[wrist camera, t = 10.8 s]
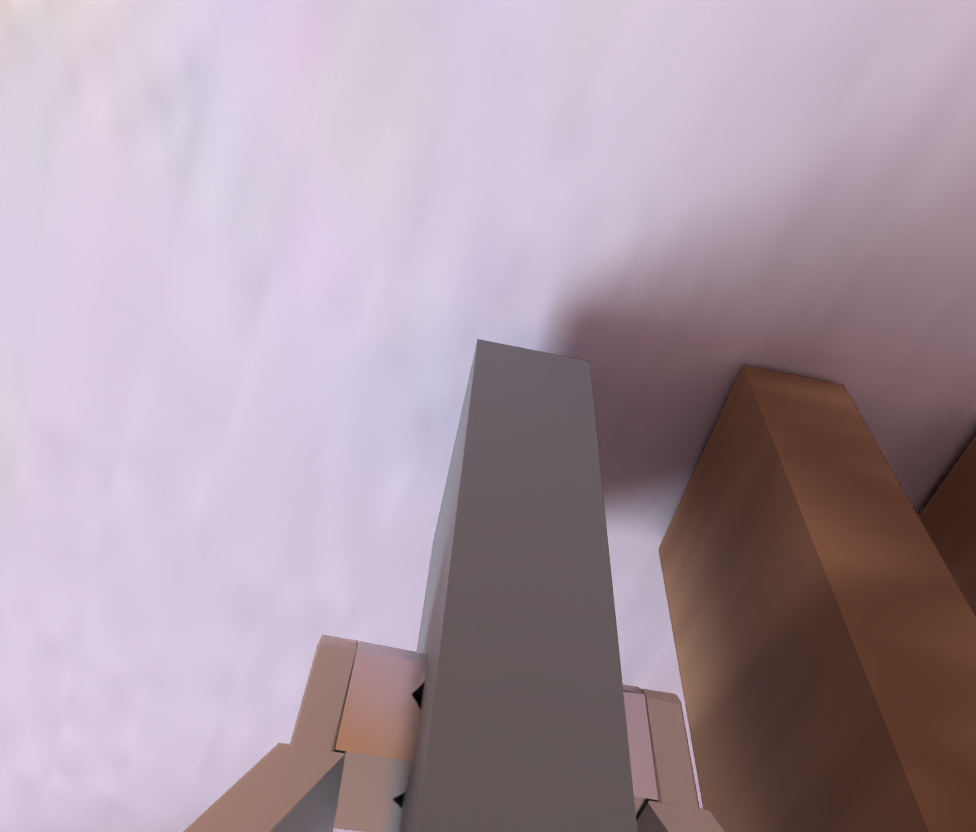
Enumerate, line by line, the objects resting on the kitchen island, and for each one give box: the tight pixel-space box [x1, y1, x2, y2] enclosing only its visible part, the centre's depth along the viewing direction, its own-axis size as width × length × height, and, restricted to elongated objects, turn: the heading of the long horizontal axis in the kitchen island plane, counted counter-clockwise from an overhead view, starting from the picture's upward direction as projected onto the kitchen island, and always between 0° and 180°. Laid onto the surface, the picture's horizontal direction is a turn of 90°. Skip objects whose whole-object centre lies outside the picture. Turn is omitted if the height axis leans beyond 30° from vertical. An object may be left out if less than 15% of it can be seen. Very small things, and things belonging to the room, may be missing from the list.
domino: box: [659, 365, 976, 832], centre depth 12 cm, size 2×5×10 cm, turn 169°
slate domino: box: [396, 339, 637, 832], centre depth 11 cm, size 2×5×10 cm, turn 169°
